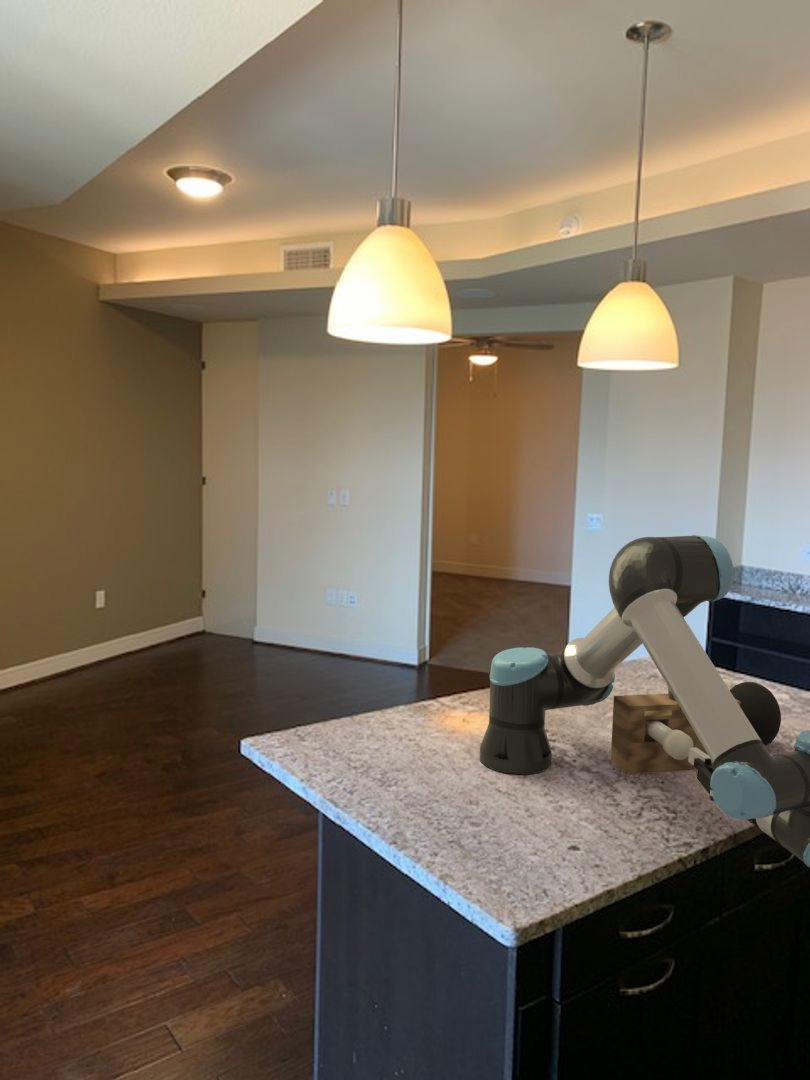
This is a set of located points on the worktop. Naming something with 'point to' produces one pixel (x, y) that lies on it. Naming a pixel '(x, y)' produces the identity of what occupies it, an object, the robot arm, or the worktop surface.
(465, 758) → the worktop surface
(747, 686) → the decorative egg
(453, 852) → the worktop surface
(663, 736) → the knob
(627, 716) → the mount
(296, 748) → the worktop surface
